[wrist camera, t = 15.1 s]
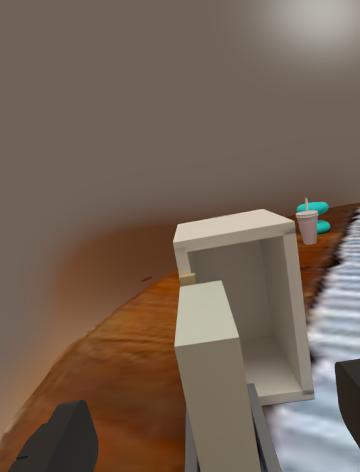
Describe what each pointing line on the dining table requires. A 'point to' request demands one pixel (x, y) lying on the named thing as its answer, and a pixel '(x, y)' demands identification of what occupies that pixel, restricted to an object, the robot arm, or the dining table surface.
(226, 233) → the hinge cabinet
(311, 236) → the smoothie
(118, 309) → the dining table surface
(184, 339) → the door panel
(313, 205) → the donuts
